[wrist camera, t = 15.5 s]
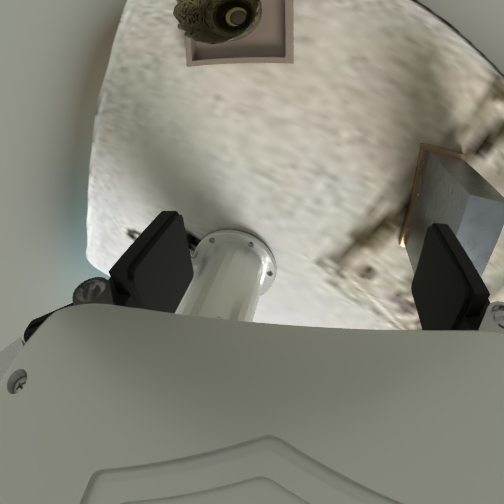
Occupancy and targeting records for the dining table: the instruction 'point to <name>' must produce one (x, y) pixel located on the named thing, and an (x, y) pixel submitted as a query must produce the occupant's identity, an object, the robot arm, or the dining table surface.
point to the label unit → (452, 206)
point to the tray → (251, 40)
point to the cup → (217, 19)
